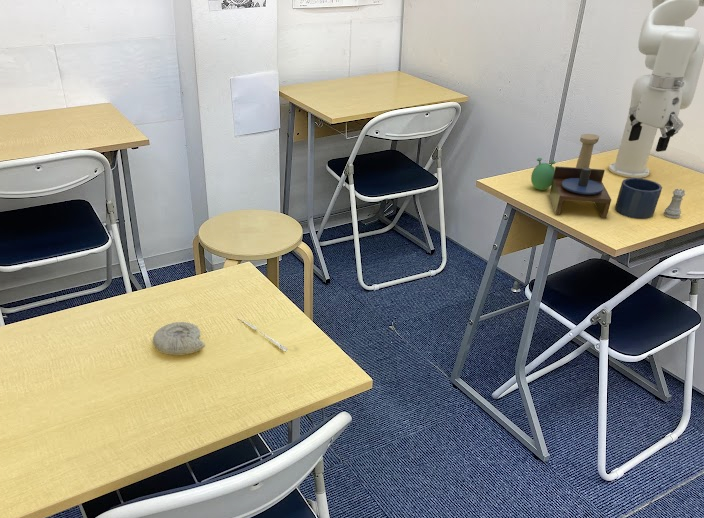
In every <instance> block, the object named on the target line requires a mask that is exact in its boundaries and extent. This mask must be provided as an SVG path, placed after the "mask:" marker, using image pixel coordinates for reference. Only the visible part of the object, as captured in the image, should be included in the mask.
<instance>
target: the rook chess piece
mask: <svg viewBox="0 0 704 518" xmlns="http://www.w3.org/2000/svg"><path fill="white" fill-rule="evenodd" d="M685 196H686V190H685V189H682V188H675V189H674V190H673V191H672V196H671V201H670V202H669V205H667V207H666V208H665V209H664V211H663V216H664V217H666V218H668V219H671V220H673V219H674V220H676V219H679V218H680V217H681V215H682V211H681V204H682V201H683V200H684V199H683V197H685Z"/></svg>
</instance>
